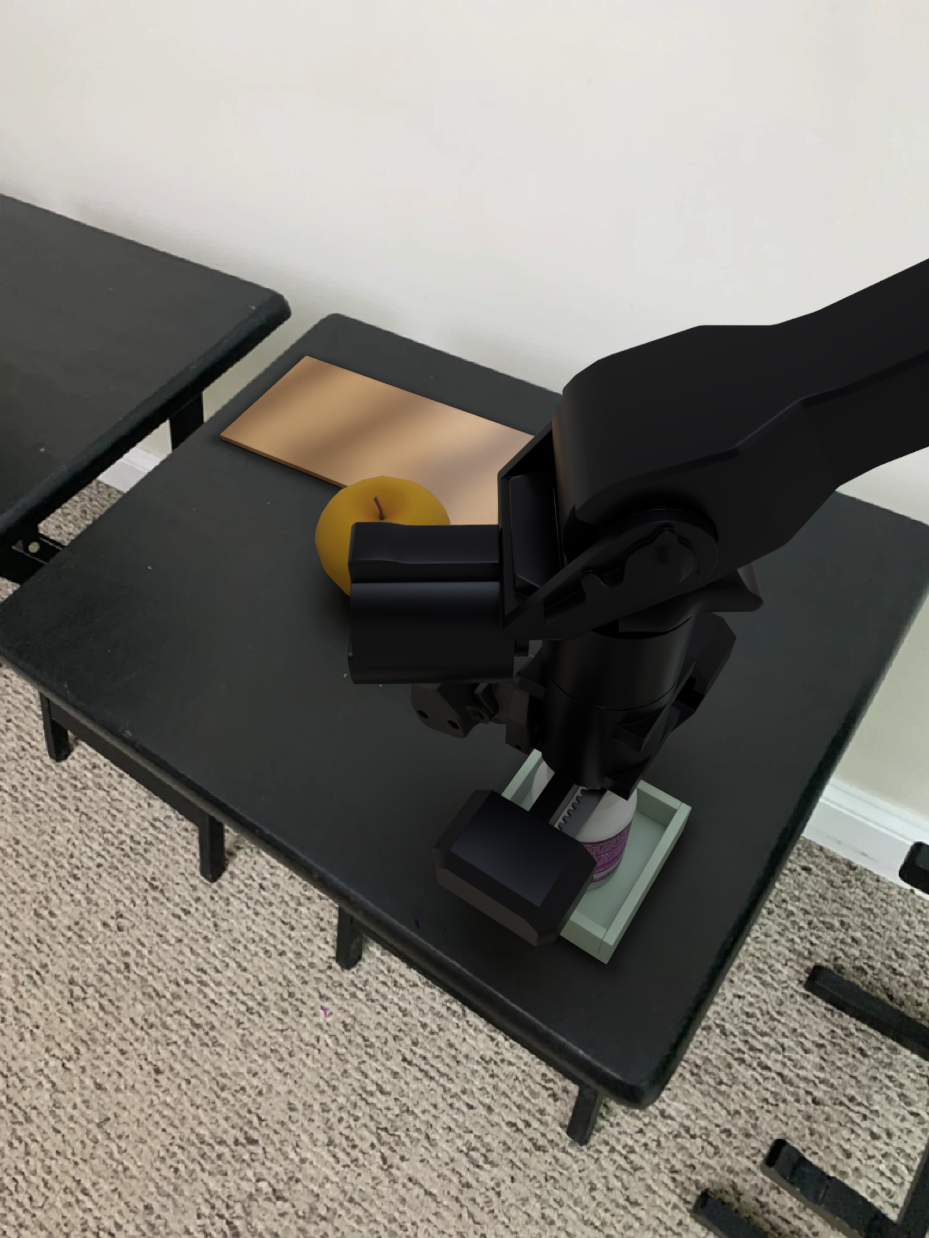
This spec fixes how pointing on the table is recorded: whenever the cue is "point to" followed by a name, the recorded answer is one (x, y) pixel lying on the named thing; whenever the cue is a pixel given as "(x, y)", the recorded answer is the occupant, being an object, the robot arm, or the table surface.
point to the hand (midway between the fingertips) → (579, 822)
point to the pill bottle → (598, 827)
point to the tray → (643, 858)
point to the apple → (371, 517)
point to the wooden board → (379, 437)
